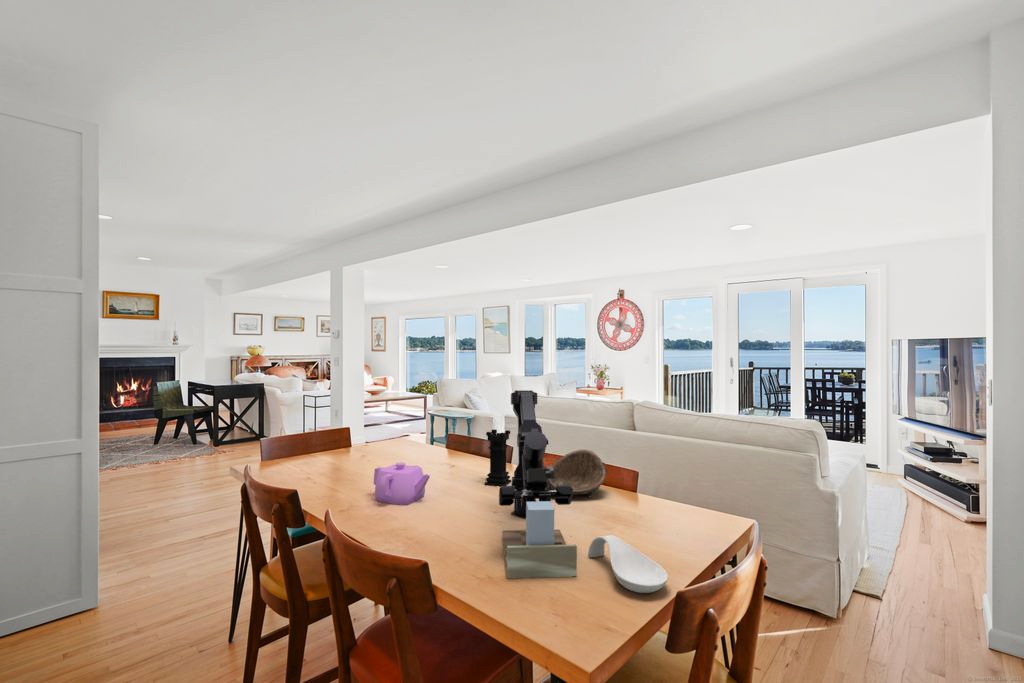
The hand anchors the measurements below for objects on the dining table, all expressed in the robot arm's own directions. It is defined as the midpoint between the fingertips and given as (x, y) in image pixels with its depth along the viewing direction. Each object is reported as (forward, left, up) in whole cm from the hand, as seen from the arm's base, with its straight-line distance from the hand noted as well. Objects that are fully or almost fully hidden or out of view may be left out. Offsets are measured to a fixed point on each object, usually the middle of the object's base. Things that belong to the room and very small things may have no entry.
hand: (538, 527), depth 123 cm
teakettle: (-67, +9, -9) cm, 68 cm away
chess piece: (-55, +45, -9) cm, 71 cm away
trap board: (-3, +3, -9) cm, 9 cm away
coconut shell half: (-23, +53, -9) cm, 58 cm away
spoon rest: (+19, +8, -9) cm, 22 cm away
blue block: (+2, -2, -7) cm, 7 cm away
